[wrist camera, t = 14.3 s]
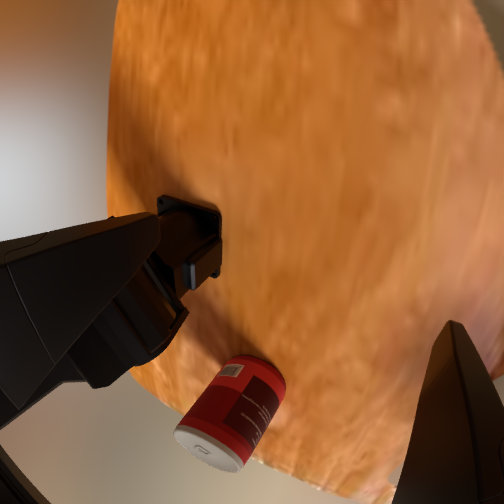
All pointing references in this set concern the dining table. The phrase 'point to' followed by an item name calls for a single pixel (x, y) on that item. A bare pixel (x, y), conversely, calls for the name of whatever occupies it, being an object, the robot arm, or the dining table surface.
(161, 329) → the robot arm
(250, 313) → the dining table surface
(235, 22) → the dining table surface
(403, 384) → the dining table surface
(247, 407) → the canned food
